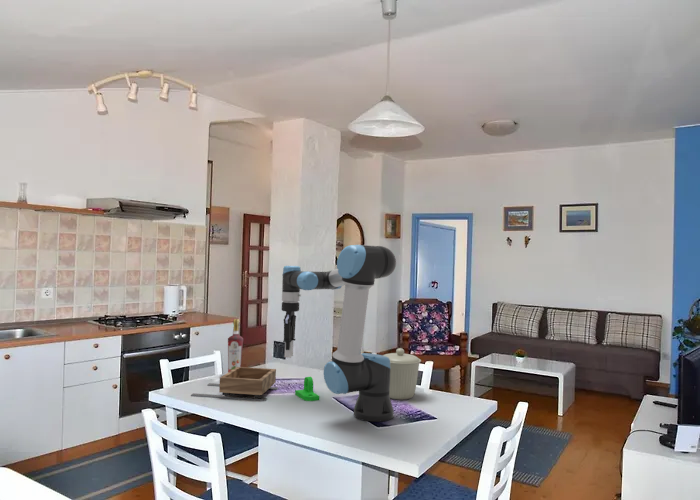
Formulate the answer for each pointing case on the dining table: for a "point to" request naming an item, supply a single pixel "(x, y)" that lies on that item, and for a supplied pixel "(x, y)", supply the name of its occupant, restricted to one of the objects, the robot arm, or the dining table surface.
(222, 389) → the wooden crate
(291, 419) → the dining table surface
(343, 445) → the dining table surface
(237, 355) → the liquor
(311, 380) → the mechanical part
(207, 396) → the cart rails
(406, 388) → the canister
